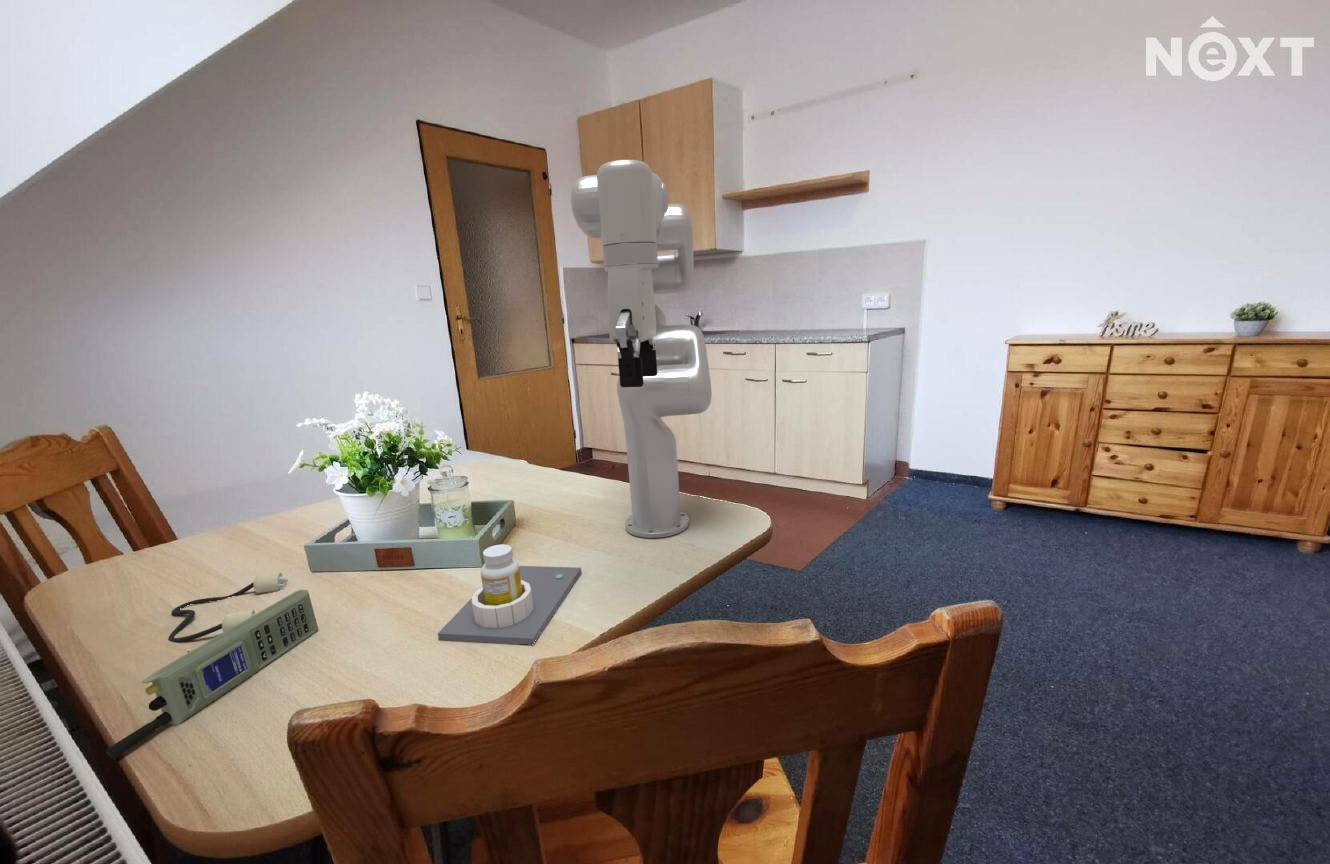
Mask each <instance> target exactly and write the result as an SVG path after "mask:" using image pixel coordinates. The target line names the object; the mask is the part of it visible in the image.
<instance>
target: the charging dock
mask: <svg viewBox="0 0 1330 864" xmlns="http://www.w3.org/2000/svg"><path fill="white" fill-rule="evenodd" d="M519 570H520V578H521V586H522V593H523V594H522V596H521V597H520V598H518V599H516V600H514V601H512V602H510V603H506V604H502V605H498V606H491V605H485V599H484V592H483V586H481V587H479V588H478V589H477V590H476V591H475V592H474V593H473V594H472V596H471V598H470V599H469V600H468V602H466V604H464V605H463V607H461V608H460V609H459V611H458V612H457V613H456V614H455V615H454V616H453V617H452V618H451V619H449V621H448V622H447V623H446V624H445V625H444V626H443V627H442V628H441V629H440V630H439V631H438V632H437V637H438V641H451V642H453V641H454V642H469V643H472V642H473V643H488V644H491V643H492V644H502V645H503V644H504V643H505V644H506V645H507V644H508V645H520V644H534V642H535V640H537V641H538V639H539V638H538V636H539V637H540V636H541V635H542V633H543V632H544V630H545V629H546V628H547V626H548V624H549V623H550V621H551V620H552V618H553V617H554V616H555V613H556V612H557V610H558V609H559V608H560V606H561V605H562V603H563V602H564V600H565V599H566V597H567V596H568V595H569V592H570V591H571V590H572V588H573V587H574V586H575V583H576V582H577V581H578V579H579V578H580V576H581V575H582V567H571V566H569V567H567V566H535V565H532V566H531V565H519ZM546 625H547V626H546ZM544 628H545V629H544ZM541 632H542V633H541ZM540 634H541V635H540ZM537 638H538V639H537ZM516 643H517V644H516ZM535 643H536V642H535ZM505 644H504V645H505ZM534 645H535V644H534Z"/></svg>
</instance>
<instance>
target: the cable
mask: <svg viewBox="0 0 1330 864" xmlns="http://www.w3.org/2000/svg"><path fill="white" fill-rule="evenodd" d="M287 583H289V579H287V577H286V576H283V574H282V572H273V573H262V574H258V575H256V577H255V578H254V580H253V582H251V583H249V584H248V585H246V586H245V587H243V588H242V589H239V590H238V591H236V592H234V593H231V594H229V595H225V596H218V597H217V596H215V597H206V598H199V599H194V600H191V601H187V602H185V603H183V604H180V605H177V607H175V608H173V610H171V615H172V616H183V615H187V616H186V617H185V618H184V619H183V620H182V621H181V622H180V623H179V624H178V625H177V626H176V627H175V628H174V630H172V632H171V633H170V634H169V635H168V638H167V639H168V641H169V642H172V643H177V644H178V643H185V642H190V641H193V640H197V639H199V638H202V637H205V636H207V635H210V634H213V633H215V632H217V631H219V630H222V633H224V632H226V631H227V630H229V629H231V628H233V627H234V626H236V625H238V624H240V623H241V622H243V621H245V620H247V619H248V618H250V617H252V616H254V615H255V614H256V613H255V610H254V609H251V610H243V611H238V612H232V613H227V614H226V615H225V616H224V617H223V620H222V622H221V623H219V624H217V625H215V626H212V627H210V628H208V629H205V630H202V631H200V632H197V633H194V634H190V635H186V636H182V637H175V636H176V635H177V634H179V633H180V632H181V631H182V629H184V628H185V627H186V626H187V624H189V622H191V620H192V619H193V618H194V617H195V616H196V612H195V610H193V609H185V608H186V607H185V606H187V605H190V604H196V605H198V604H197V603H201V604H205V603H204V602H208V603H210V602H209V601H215V602H218V601H217V600H220V601H223V600H226V599H229V598H228V597H230V598H233V597H232V596H235V597H238V596H242V594H245V593H246V592H248V591H250V590H252V589H253V590H254V592H255V593H257V594H263V593H264V594H265V593H271V592H278V591H280V589H282V588H286V585H285V584H287ZM184 607H185V608H184ZM180 608H183V609H181V610H180Z"/></svg>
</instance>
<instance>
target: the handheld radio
mask: <svg viewBox="0 0 1330 864" xmlns="http://www.w3.org/2000/svg"><path fill="white" fill-rule="evenodd" d="M315 615H316V614H315V611H314V607H313V603H312V600H311V596H310V593H309V590H308V589H299V590H296V591H294V592H292V593H290V594H289V595H286V597H284V598H282V599H280V600H278V601H277V602H274V603H273V604H271V605H270V606H268V607H266V608H264V609H262V610H261V611H259V612H257V613H255V615H254V616H252V617H250V618H248V619H247V620H245V621H243V622H241V623H240V624H238V625H236V626H234V627H233V628H231V629H229V630H227V631H226V632H222V633H221V634H219V635H217V636H216V637H213V638H212V639H209V640H208V641H207V642H205V643H204V644H201V645H200V646H198V647H196V648H195V649H193V650H191V651H189V652H188V653H186V654H184V655H182V656H180V657H179V658H177V659H175V660H174V661H172V662H170V663H168V664H167V665H165V666H163V667H161V668H159V669H157V670H156V671H154V672H152V674H150V675H149V676H148V677H146V678H143V680H141V681H140V683H143V684H150V683H151V685H148V687H146V688H145V691H144V692H145V693H146V694H147V696H151V695H153V694H155V696H156V698H154V699H152V700H151V701H150V702H149V703H148V709H149V710H150V711H152V712H154V711H155V712H156V711H158V710H161V714H159V715H157V716H156V717H155V719H152V721H150V722H148V723H146V724H145V725H142V726H141V727H139V728H138V729H136V730H135V731H133V732H132V733H130V734H129V735H127V736H126V737H124V738H122V739H120V740H118V741H117V742H116V743H114V744H112V745H110V746H109V747H107V748H106V754H107V756H108V757H109V758H111V759H112V760H114V759H116V758H117V757H119V756H121V755H122V754H123V753H125V752H126V751H128V750H129V749H131V748H132V747H134V746H136V745H137V744H139V743H140V742H142V741H143V740H145V739H146V738H148V737H149V736H150V735H152V734H154V733H155V732H156V730H158V729H159V728H161V727H164V726H165V725H171V726H179V725H180V724H182V723H183V722H184V721H186V720H187V719H190V718H191V717H192V716H193V715H195V714H197V713H199V712H200V711H201V710H203V709H204V708H206V707H207V706H209V705H210V704H211V703H213V702H215V701H216V700H218V699H220V697H222V696H223V695H225V694H226V693H228V692H230V691H231V690H233V689H234V688H235V687H237V686H238V685H240V684H241V683H243V682H245V681H246V680H248V679H249V678H250V677H252V676H253V675H254V674H256V673H258V672H259V671H261V670H262V669H263V668H265V667H267V666H268V665H270V664H271V663H273V662H275V660H278V658H280V657H281V656H283V655H284V654H286V653H287V652H289V651H291V650H292V649H293V648H295V647H297V646H298V645H299V644H301V643H302V642H304V641H306V640H307V639H308V638H309V637H311V636H312V635H315V633H317V632H319V631H320V630H319V627H318V622H317V618H316V616H315Z"/></svg>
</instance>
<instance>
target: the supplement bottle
mask: <svg viewBox="0 0 1330 864" xmlns="http://www.w3.org/2000/svg"><path fill="white" fill-rule="evenodd" d="M513 556H514V553H513V547H512V546H511V545H509V544H501V543H500V544H496V545H492V546H491V545H490V546H488V547H487V548H485V549H484V550H483V552H482V557H483V561H484V562H483V563H484V564H482V567H481V569H480V578H481V585H482V587H483V592H484V599H485V605H491V606H498V605H502V604H506V603H510V602H512V601H514V600H516V599H518V598H520V597H521V596H522V594H523V593H522V586H521V578H520V570H519V566H520V565H519V562H518V561H517V559H515V558H513Z"/></svg>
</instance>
